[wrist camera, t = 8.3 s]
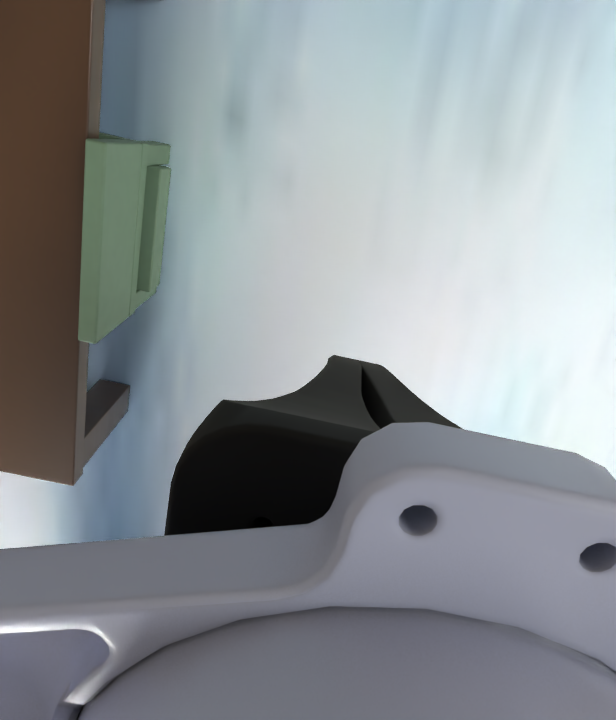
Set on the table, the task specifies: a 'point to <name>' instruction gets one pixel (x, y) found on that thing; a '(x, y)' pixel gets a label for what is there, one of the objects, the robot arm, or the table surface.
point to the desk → (48, 238)
